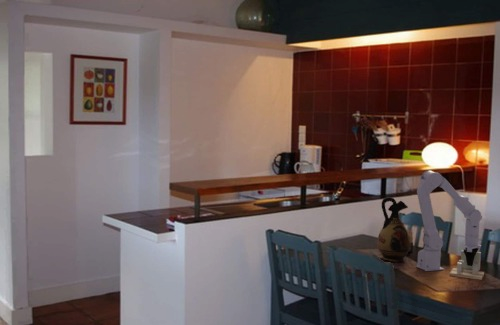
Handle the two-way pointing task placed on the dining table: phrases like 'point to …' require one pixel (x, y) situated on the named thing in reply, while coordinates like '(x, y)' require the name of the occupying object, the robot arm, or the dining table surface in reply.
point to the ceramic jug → (393, 233)
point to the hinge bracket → (467, 271)
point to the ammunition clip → (411, 240)
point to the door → (476, 259)
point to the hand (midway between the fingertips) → (470, 264)
